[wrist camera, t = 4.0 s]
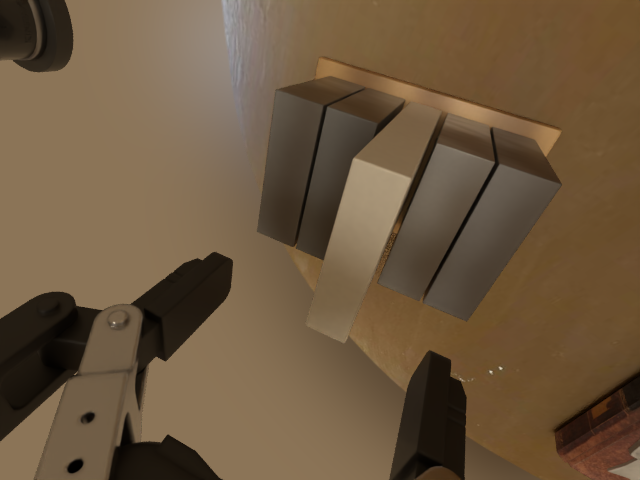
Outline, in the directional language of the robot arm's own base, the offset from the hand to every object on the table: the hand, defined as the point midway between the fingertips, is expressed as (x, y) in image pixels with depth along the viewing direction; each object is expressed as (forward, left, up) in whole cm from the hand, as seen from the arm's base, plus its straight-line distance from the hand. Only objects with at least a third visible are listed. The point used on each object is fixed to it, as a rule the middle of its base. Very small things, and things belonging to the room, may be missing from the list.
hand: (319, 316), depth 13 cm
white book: (0, 0, -19) cm, 19 cm away
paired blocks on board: (0, 0, -20) cm, 20 cm away
